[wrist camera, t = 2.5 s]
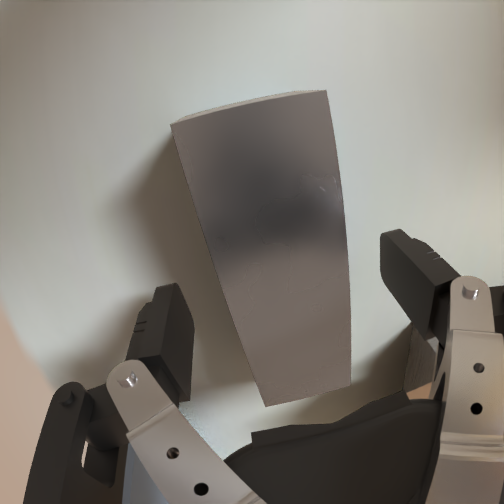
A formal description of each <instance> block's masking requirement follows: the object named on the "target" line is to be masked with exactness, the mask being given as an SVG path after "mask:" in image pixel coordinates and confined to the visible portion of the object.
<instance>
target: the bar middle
mask: <svg viewBox="0 0 504 504" xmlns="http://www.w3.org/2000/svg"><path fill="white" fill-rule="evenodd" d="M437 344H438V339H437V338H436V337H434V338H431V339H429V340H427V341H424V339H423V338H422V336H421V335H420V333H419V332H418V330H417V329H416V327H415V326H414V325H413V328H412V335H411V343H410V349H409V356H408V362H407V368H406V373H405V379H404V384H403V389H402V391H403V390H405V392H406V393H408V392H410V391H412V390H415V389H417V388H419V387H422V386H424V385H426V384H428V383H430V382H432V378H433V372H434V365H435V357H436V349H437Z"/></svg>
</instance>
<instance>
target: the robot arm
mask: <svg viewBox="0 0 504 504" xmlns="http://www.w3.org/2000/svg"><path fill="white" fill-rule="evenodd" d="M380 272H381V276H382V279H383V282H384V284H385V285H386V287H387V288H388V289H389V291H390V292H391V293H392V295H393V296H394V298H395V299H396V300H397V302H398V303H399V305H400V306H401V307H402V309H403V310H404V312H405V313H406V314H407V316H408V317H409V319H410V320H411V322H412V323H413V325H414V326H415V327H416V329H417V330H418V332H419V333H420V335H421V336H422V338H423V339H424V341H427V340H429V339H431V338H434V337H436V338H437V339H438V344H437V349H436V357H435V365H434V372H433V378H432V384H431V390H430V394H429V397H428V399H409V398H408V396H407V394H406V392H405V390H403V391H401V392H398V393H396V394H393V395H390V396H387V397H385V398H382V399H379V400H376V401H373V402H370V403H369V404H367V405H365V406H364V407H362V408H360V409H358V410H357V411H355V412H353V413H352V414H350V415H348V416H346V417H344V418H343V419H341V420H339V421H337V422H335V423H331V424H311V425H287V426H283V427H278V428H273V429H268V430H262V431H257V432H251V436H252V443H251V444H248V445H246V446H244V447H242V448H240V449H238V450H237V451H235V452H234V453H232V454H231V455H229V456H228V457H227V458H226V459H225V460H222V459H221V458H220V457H219V456H218V455H217V454H216V453H215V452H214V451H213V450H212V448H211V447H210V446H209V445H208V444H207V443H206V442H205V441H204V439H203V438H202V437H201V436H200V435H199V434H198V433H197V431H196V430H195V429H194V428H193V427H192V425H191V424H190V423H189V422H188V421H187V419H186V418H185V417H184V416H183V415H182V413H181V412H180V411H179V410H178V408H179V402H185V401H190V390H191V373H192V358H193V344H194V322H193V318H192V315H191V313H190V311H189V308H188V306H187V304H186V301H185V299H184V297H183V294H182V292H181V290H180V288H179V286H178V284H177V283H172V284H168V285H164V286H159V287H157V288H156V290H155V293H154V297H153V300H152V302H149V303H146V305H145V306H144V307H143V308H142V310H141V311H140V312H139V314H138V318H137V321H136V325H135V328H134V331H133V332H134V333H133V335H132V338H131V341H130V345H129V349H128V352H127V356H126V359H125V361H124V362H122V363H120V364H118V365H117V366H115V367H114V368H113V369H112V370H111V372H110V373H109V375H108V377H107V380H106V384H103V385H101V386H98V387H95V388H93V389H90V390H88V391H87V390H86V389H85V388H84V387H83V386H82V385H81V384H80V383H78V382H69V383H66V384H64V385H63V386H61V387H60V388H59V389H58V390H57V391H56V392H55V394H54V395H53V397H52V400H51V403H50V406H49V409H48V412H47V415H46V418H45V421H44V424H43V427H42V430H41V434H40V437H39V440H38V444H37V447H36V451H35V454H34V458H33V462H32V466H31V469H30V474H29V478H28V483H27V487H26V492H25V496H24V501H23V504H122V498H123V487H124V477H125V468H126V459H127V451H128V444H129V443H130V444H131V445H132V447H133V449H134V451H135V452H136V454H137V456H138V457H139V459H140V461H141V462H142V464H143V466H144V467H145V469H146V470H147V472H148V474H149V475H150V477H151V478H152V480H153V481H154V483H155V484H156V486H157V487H158V489H159V490H160V492H161V493H162V494H163V496H164V497H165V499H166V500H167V502H168V503H169V504H504V286H496V287H488V285H487V284H486V283H485V282H484V281H483V280H481V279H479V278H477V277H473V276H461V275H460V274H458V273H457V272H456V271H455V270H454V269H453V268H452V267H451V266H450V265H449V264H448V263H447V262H446V261H445V260H444V259H443V258H440V255H438V254H437V253H436V252H434V250H433V249H432V248H431V247H430V246H429V245H427V244H426V243H424V242H422V241H420V240H418V239H415V238H413V239H411V238H410V237H409V236H408V235H407V234H406V233H405V232H404V231H403V230H401V229H396V230H392V231H389V232H385V233H382V234H381V236H380ZM85 441H87V442H88V447H87V452H86V457H85V463H84V467H82V463H81V459H82V454H83V449H84V444H85Z"/></svg>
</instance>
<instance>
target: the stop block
mask: <svg viewBox="0 0 504 504" xmlns="http://www.w3.org/2000/svg"><path fill="white" fill-rule="evenodd" d="M122 504H169V503H168V502H167V500H166V499H165V497H164V496H163V494H162V493H161V492H160V490H159V489H158V487H157V486H156V484H155V483H154V481H153V480H152V478H151V477H150V475H149V474H148V472H147V470H146V469H145V467H144V466H143V464H142V462H141V461H140V459H139V457H138V456H137V454H136V452H135V451H134V449H133V447H132V445H131V444H130V443H129V444H128V451H127V459H126V468H125V477H124V487H123V498H122Z"/></svg>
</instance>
